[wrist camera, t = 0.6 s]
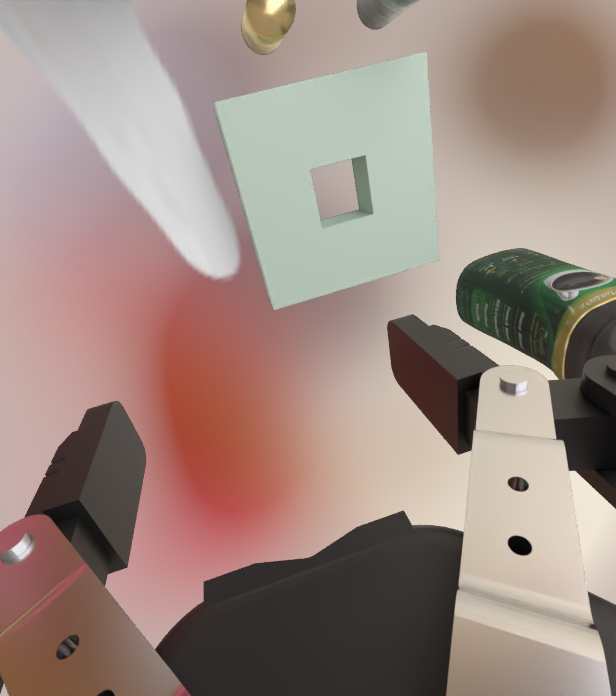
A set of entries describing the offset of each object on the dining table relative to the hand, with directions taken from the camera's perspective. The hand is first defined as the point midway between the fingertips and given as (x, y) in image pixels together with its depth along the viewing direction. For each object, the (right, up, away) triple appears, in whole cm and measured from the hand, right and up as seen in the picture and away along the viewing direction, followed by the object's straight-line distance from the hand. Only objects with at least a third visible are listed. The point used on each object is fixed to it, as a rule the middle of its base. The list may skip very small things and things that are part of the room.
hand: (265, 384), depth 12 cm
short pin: (-2, +25, +17) cm, 30 cm away
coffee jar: (+21, +8, +32) cm, 39 cm away
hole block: (+3, +15, +23) cm, 28 cm away
